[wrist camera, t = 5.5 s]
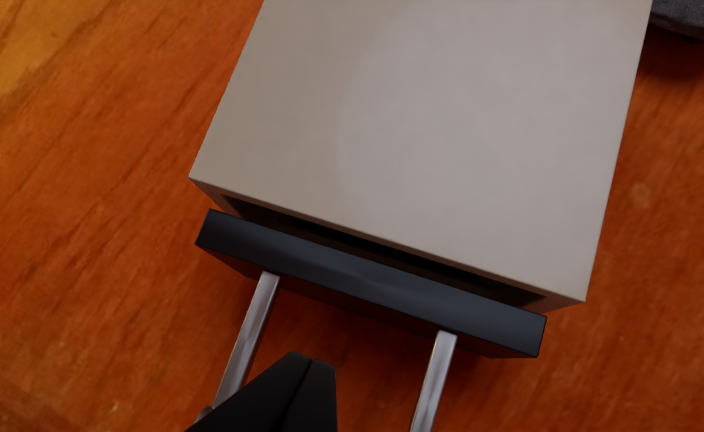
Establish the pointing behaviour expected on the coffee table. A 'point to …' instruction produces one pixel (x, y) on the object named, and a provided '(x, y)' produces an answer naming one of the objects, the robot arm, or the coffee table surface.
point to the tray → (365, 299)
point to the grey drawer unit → (434, 132)
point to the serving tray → (680, 18)
